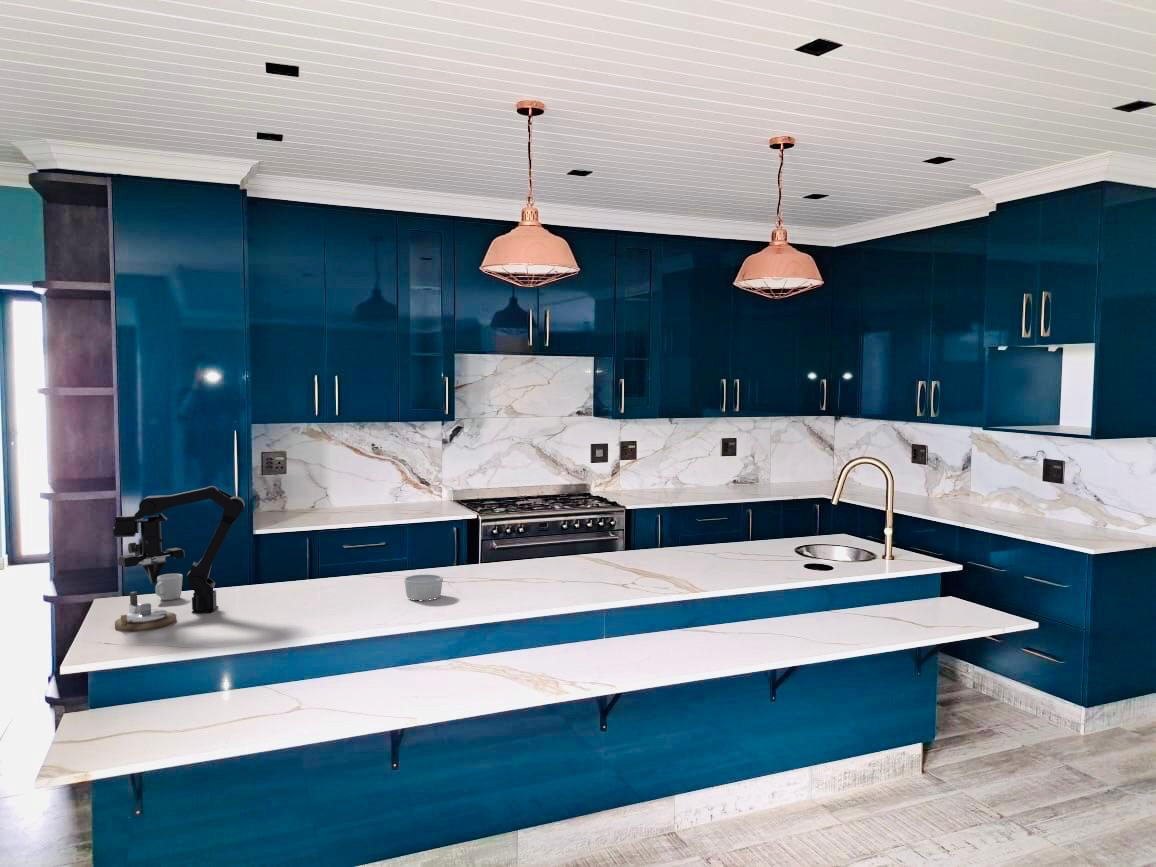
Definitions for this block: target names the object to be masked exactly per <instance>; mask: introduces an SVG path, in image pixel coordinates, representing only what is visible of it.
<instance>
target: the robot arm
mask: <svg viewBox="0 0 1156 867" xmlns="http://www.w3.org/2000/svg"><path fill="white" fill-rule="evenodd" d="M206 500H210V501H212V502H214V503H215V504H217V505H218V506H219V507H222V508H223V513H222V515H221V519H220V522H219V524H218V526H217V528H216V530H215V532H214V534H213V536H212V537H211V540H210V542H209V544H208V546H207V548H206V550H205V552H204V554H203V556H202V557H201V559H199V561H198V562H196V561H193V563H192V565H191V568H190V570H189V571H188V572H187V574H186V577H187V579H186V581H187V582H186V584H187V586H188V587H189V588H190V589H192V590H193V593H192V596H193V597H191V610H192V611H191V613H192V614H196V613H199V614H200V613H201V614H203V613H206V614H207V613H213V612H215V611H216V610H217V609H218V608H219V605H218V604H217V590H215V589H214V588H215V585H216V582H215V581H214V580H213V579H211V578H210V572H211V568H212V565H213V563H214V560H215V559H216V557H217V555H218V553H219V550H220V549H221V547H222V546H223V543H224V541H225V540H226V538H227V536H228V533H229V531H230V529H231V527H232V526H233V525H234V523H236V521H238V520H237V519H238V518H239V517H240V516H241V514H242V513H243V511H244V509H245V504H246V503H245V501H244V499H243V498H242V497H240V496H237V495H236V496H235V495H234V496H233V495H231V494H230V493H228V492H225V491H224V490H221V489H219V488H217V487H216V486H215V485H210V486H206V487H204V488H198V489H193V490H189V491H184V492H180V493H175V494H169V495H168V494H167V495H161V494H160V495H148V496H146V497H144V498H143V499H141V501H140V502H139V504H138V510H137V511H136V512H135V513H134V515H125V516H124V515H116V516H115V517H114V525H113V526H114V527H113V535H114V538H116V539H118V538H134V537H136V534H140V537H141V538H139V542H138V543H136V542H130V543H128V544H127V551H128V553H129V554H127V555H126V554H125V555H121V556H120V555H119V557H118V559H117V565H118V566H120V567H124V568H129V567H130V568H131V567H135V566H136V567H137V566H140V567H142V568H143V569H144V571H145V573H146V575H147V578H148V580H149V583H150V584H151V585H155V584H156V582H157V578H158V576H160V573H161V571H162V569H163V567H164V566H165V564H168V561H167V560H166V558H171V557H172V558H174V559H175V560H178V559H184V558H185V557H186V553H185V550H184V549H183V548H179V547H172V548H167V549H165V550H164V551H163V550H162V549H163V548H162V547H163V546H162V543H163V542H164V538H162V526H161V525H162V524H161V523H162V522H167V520H168V517H167V516H165V515H164V514H163V512H164V511H166V510H168V509H171V508H173V507H178V506H182V505H188V504H193V503H197V502H198V503H199V502H201V501H202V502H203V501H206ZM156 514H159V515H156ZM145 517H148V518H146V519H143V518H145Z"/></svg>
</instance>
